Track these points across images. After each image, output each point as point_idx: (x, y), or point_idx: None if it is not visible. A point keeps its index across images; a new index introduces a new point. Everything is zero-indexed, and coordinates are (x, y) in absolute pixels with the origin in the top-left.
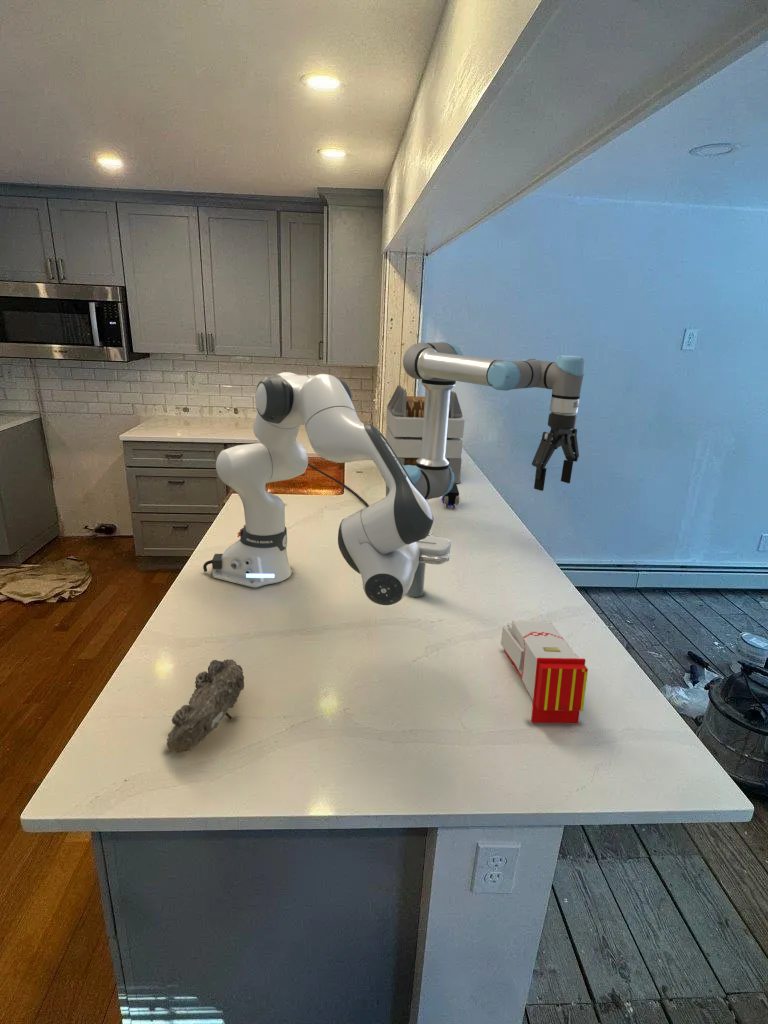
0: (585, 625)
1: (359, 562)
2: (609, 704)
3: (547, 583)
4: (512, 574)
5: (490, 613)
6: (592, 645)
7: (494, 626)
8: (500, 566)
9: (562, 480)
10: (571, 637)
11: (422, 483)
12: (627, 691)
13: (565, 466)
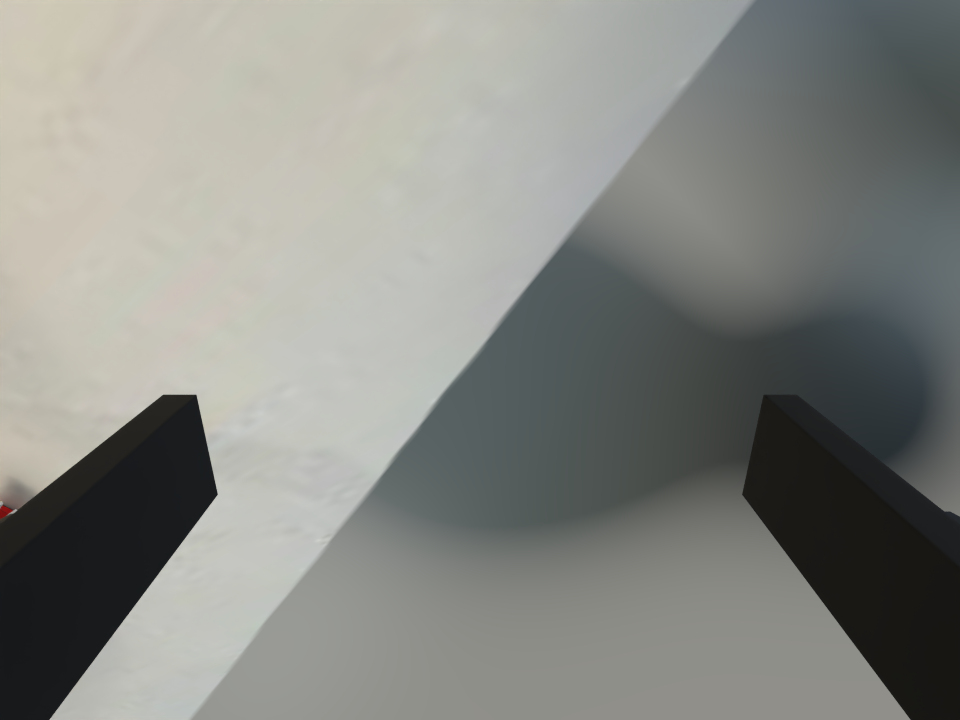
0: (291, 535)
1: None
2: (78, 693)
3: (422, 322)
4: (363, 183)
5: (59, 337)
6: (223, 588)
7: (23, 394)
8: (380, 89)
9: (764, 425)
10: (202, 544)
11: None
12: (148, 694)
13: (908, 579)
